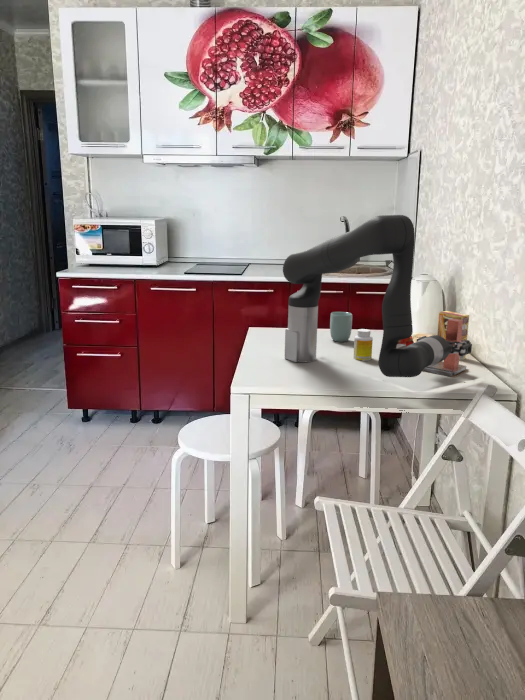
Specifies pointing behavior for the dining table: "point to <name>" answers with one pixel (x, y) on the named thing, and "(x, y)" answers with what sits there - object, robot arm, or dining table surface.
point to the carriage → (454, 335)
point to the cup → (340, 326)
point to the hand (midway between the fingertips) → (453, 341)
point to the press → (402, 346)
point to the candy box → (442, 325)
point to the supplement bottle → (363, 345)
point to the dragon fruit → (406, 341)
